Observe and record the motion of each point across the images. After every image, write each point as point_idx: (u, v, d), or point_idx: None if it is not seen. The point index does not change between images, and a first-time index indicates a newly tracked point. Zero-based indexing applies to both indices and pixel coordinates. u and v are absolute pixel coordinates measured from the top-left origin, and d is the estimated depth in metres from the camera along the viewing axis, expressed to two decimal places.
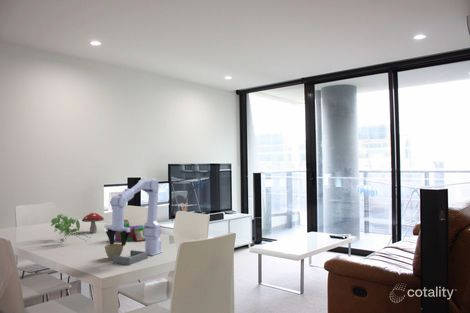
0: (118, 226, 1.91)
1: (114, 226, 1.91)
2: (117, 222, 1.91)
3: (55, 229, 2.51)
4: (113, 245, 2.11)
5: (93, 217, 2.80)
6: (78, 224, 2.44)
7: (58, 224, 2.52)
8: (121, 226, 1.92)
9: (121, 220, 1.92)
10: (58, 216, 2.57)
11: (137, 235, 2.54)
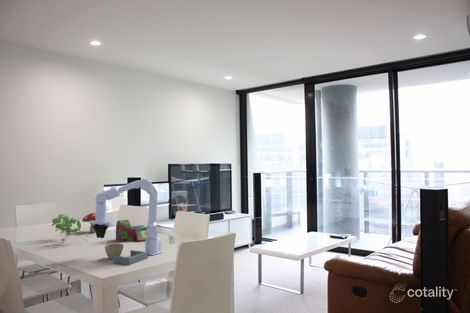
0: (101, 220, 2.08)
1: (97, 220, 2.08)
2: (100, 217, 2.08)
3: (56, 229, 2.51)
4: (113, 245, 2.11)
5: (93, 217, 2.80)
6: (79, 224, 2.45)
7: (59, 224, 2.52)
8: (103, 220, 2.09)
9: (103, 215, 2.09)
10: (59, 216, 2.57)
11: (138, 235, 2.53)
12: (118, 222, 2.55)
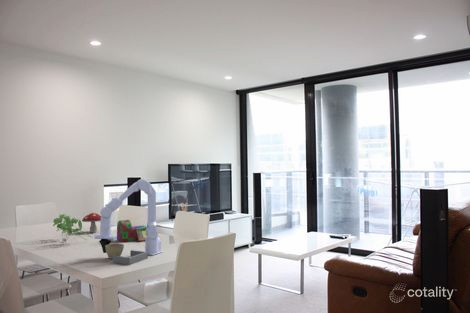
0: (105, 235, 2.06)
1: (102, 235, 2.06)
2: (104, 232, 2.06)
3: None
4: (113, 245, 2.10)
5: (93, 217, 2.80)
6: (80, 224, 2.45)
7: (60, 224, 2.53)
8: (108, 235, 2.07)
9: (108, 230, 2.07)
10: (60, 216, 2.58)
11: (139, 235, 2.53)
12: (119, 222, 2.54)
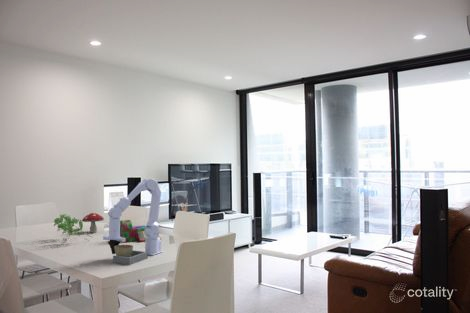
0: (114, 236, 2.04)
1: (110, 236, 2.04)
2: (113, 233, 2.04)
3: (58, 229, 2.52)
4: (122, 246, 2.08)
5: (93, 217, 2.80)
6: (81, 224, 2.46)
7: (61, 224, 2.53)
8: (117, 236, 2.05)
9: (117, 230, 2.05)
10: (61, 216, 2.58)
11: (140, 235, 2.53)
12: (120, 222, 2.54)
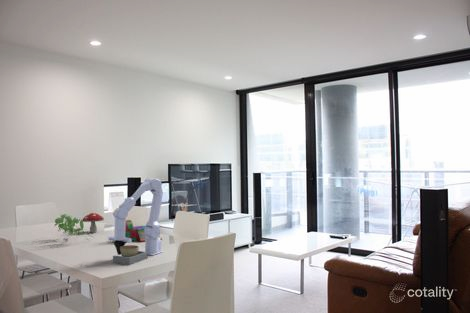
0: (120, 237, 2.02)
1: (116, 237, 2.02)
2: (119, 233, 2.02)
3: (59, 229, 2.53)
4: (128, 247, 2.06)
5: (93, 217, 2.80)
6: (82, 224, 2.46)
7: (62, 224, 2.54)
8: (123, 237, 2.03)
9: (123, 231, 2.03)
10: (62, 216, 2.58)
11: (141, 235, 2.52)
12: None
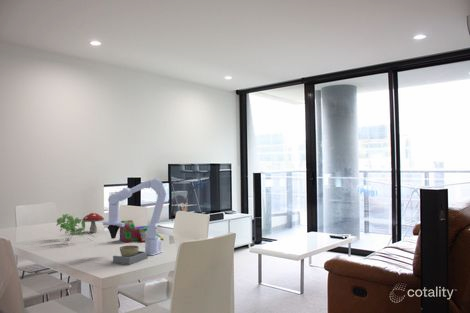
0: (114, 221, 2.12)
1: (110, 221, 2.12)
2: (113, 218, 2.12)
3: (61, 228, 2.53)
4: (128, 247, 2.06)
5: (93, 217, 2.80)
6: (83, 224, 2.47)
7: (63, 224, 2.54)
8: (116, 221, 2.13)
9: (116, 216, 2.13)
10: (63, 216, 2.59)
11: (142, 236, 2.52)
12: (122, 222, 2.53)
